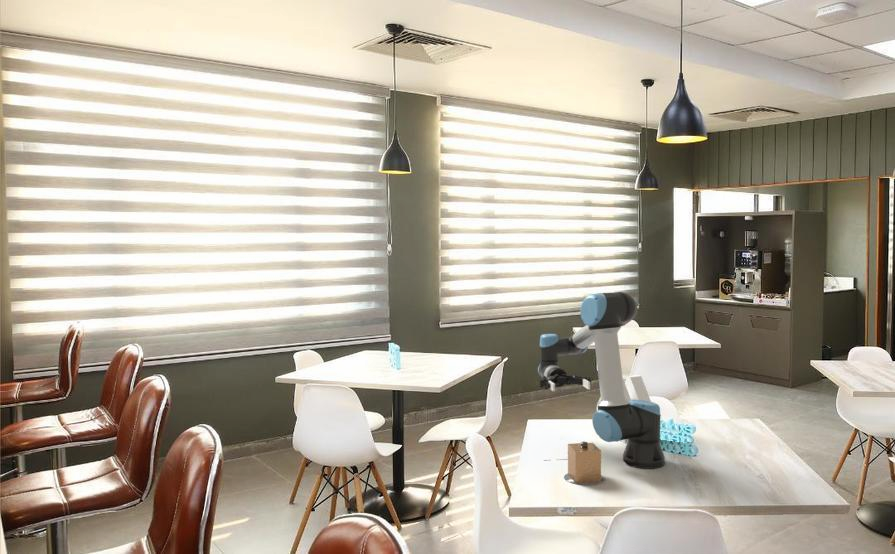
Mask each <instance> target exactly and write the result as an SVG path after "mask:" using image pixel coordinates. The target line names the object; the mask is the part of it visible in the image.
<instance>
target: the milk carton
mask: <svg viewBox="0 0 895 554" xmlns="http://www.w3.org/2000/svg"><path fill="white" fill-rule="evenodd" d="M623 386H624V395H625V399H626V400H628V401H629V400H644V401H649V402H652V401H651V399H650V396H649V394H648V393H649V392H648V390H647V388H646V386H645V382H644V379H643V376H642V375H639V374H637V375H628V376H626V378H625V380H624V378H623ZM600 401H601V396H600V397H599V400H598V401H597V404H598V403H599V402H600ZM597 404H596V412H597V411H598V405H597ZM619 442H621V443H623V444H627V442H628V439H625V440H620V441H619Z"/></svg>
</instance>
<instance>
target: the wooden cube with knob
mask: <svg viewBox="0 0 895 554" xmlns="http://www.w3.org/2000/svg"><path fill="white" fill-rule="evenodd" d="M567 459H568V460H567V473H568V475H569V476H570V477H571V479H572V480H573V481H574V482H575V483H593V482H601V476H602V450H601V449H600V448H599V447H598V446H596V444H594V443H593V442H587V441H580V443H568V444H567Z"/></svg>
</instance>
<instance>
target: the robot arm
mask: <svg viewBox="0 0 895 554" xmlns="http://www.w3.org/2000/svg"><path fill="white" fill-rule="evenodd" d="M579 311H580V318H581V321H583V322H582V323H583V324H584V326H583V327H582V328H580V329H579V330H578V331H576V332H574V333H573V334H572V335H570V336H566V337H565V336H564V337H559V335H558V334H556V333H544V334H543V333H542V334H541V335H540V338H539V353H540V356H539V357H540V359H539V365H538V367H537V372H538V375H539V376H540V377H541V379H540V380H539V387H540V388H544V389H545V390H548V389H549V390H550V391H552V392H556V388H559V387H563V386H564V385H577V386H582V387H584V388H585V389H587V390H591V386H592V378H591V377H588V376H580V375H577V374H573V375H571V374H570V375H569V374H567V372H566V370H564V369H562V367H559V357H560V356H561V357H562V356H570V355H581V354H584V353H586V352H587V350H588V349H589V346H591V345H592V344H594V347H595V348H594V349H595V358H596V366H597V376H598V386H599V392H600V397H601V401H600V402H599V403H598V402H597V404H596V406H597V405H598V411H597V410H596V411H595V412H594V414H593V416H592V419H591V420H592V426H593V429H594V431H595V434H596V435H597V436H598V437H599V438H600V439H601V440H602V441H604V442H607V443H612V442H614V443H615V442H618V443H619V442H621V441H620V440H625V439H628V442H627V443H626V445H625V448H624V450H623V451H624V452H623V455H622V461H623V463H625V464H626V465H627V466H631V467H634V468H640V469H658V468H659V469H660V468H661V467H664V466H665V465H666V459H665V454H664V452H663V448H662V445H661V417H662V416H661V414H662V413H661V407H660V405H659V404H658V403H656V402H653V401H651V402H649V401H644V400H629V401H628V400H626V399H625V395H624V386H623V379H624V378H623V370H622V362H621V353H620V352H621V351H620V345H619V344H620V343H619V336H618V332H619V331H620V329H622V327H623V326H624V327H625V326H626V325H627V324H629V323H630V322H631V321H633V320H634V318H635V317H636V315H637V314H638V305H637V301H636V299H635V298H634V297H633V296H632V295H630V293H627V292H623V291H616V292H615V291H614V292H598V293H597V292H596V293H592V294H589V295H587V296H586V297H585V298H584V299H583V301H582V302H581V305H580V310H579Z"/></svg>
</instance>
